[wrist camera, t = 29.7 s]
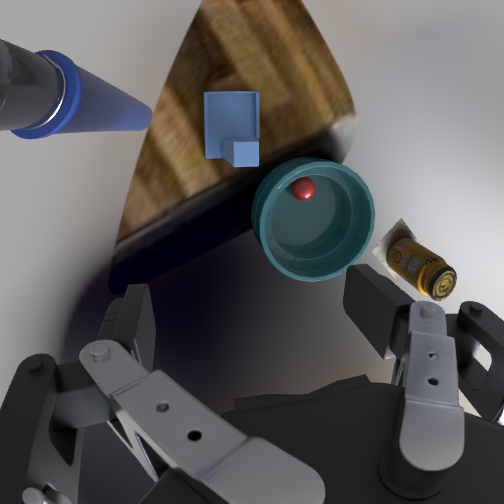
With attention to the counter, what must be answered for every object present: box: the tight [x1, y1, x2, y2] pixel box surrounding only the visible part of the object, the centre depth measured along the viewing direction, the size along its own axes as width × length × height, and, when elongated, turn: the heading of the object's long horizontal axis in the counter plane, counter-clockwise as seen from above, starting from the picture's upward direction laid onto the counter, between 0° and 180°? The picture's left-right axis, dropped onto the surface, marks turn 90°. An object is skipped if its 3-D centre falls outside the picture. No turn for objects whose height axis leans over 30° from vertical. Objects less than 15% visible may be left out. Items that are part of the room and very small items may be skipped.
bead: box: [290, 176, 315, 201], centre depth 41 cm, size 3×3×3 cm
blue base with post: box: [204, 91, 260, 167], centre depth 33 cm, size 8×7×11 cm
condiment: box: [372, 219, 457, 301], centre depth 44 cm, size 7×8×12 cm
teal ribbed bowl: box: [251, 157, 375, 281], centre depth 41 cm, size 15×15×6 cm
